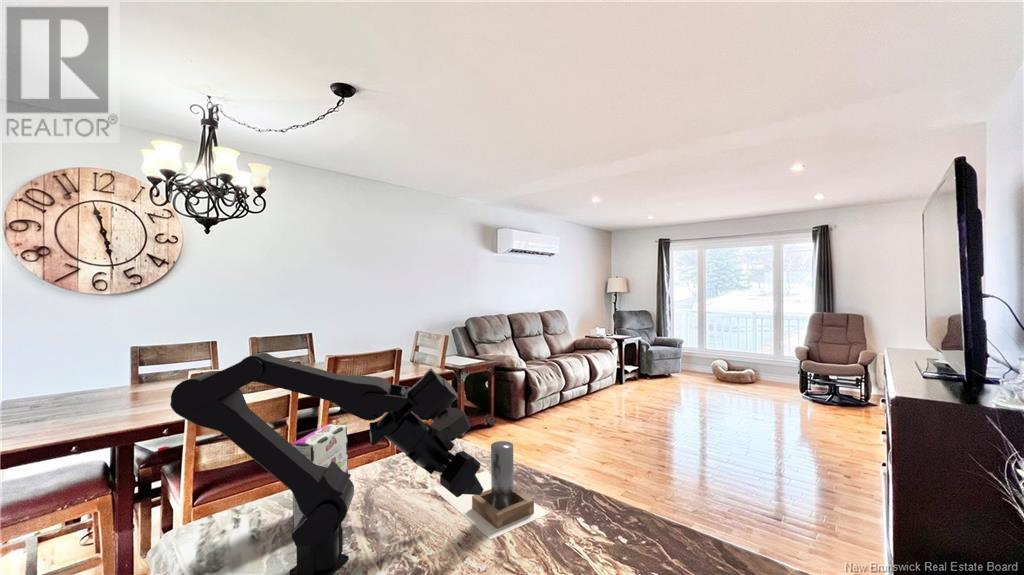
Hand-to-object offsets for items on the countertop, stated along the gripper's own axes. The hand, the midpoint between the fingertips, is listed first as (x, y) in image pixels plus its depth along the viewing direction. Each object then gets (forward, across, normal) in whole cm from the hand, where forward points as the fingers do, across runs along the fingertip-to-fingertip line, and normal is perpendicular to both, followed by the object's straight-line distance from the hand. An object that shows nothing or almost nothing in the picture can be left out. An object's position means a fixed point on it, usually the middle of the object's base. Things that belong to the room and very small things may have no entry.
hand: (468, 482), depth 77 cm
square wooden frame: (+11, 0, 0) cm, 11 cm away
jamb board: (+12, +5, +1) cm, 13 cm away
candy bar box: (-8, +22, +21) cm, 32 cm away
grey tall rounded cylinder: (+11, 0, 0) cm, 11 cm away
